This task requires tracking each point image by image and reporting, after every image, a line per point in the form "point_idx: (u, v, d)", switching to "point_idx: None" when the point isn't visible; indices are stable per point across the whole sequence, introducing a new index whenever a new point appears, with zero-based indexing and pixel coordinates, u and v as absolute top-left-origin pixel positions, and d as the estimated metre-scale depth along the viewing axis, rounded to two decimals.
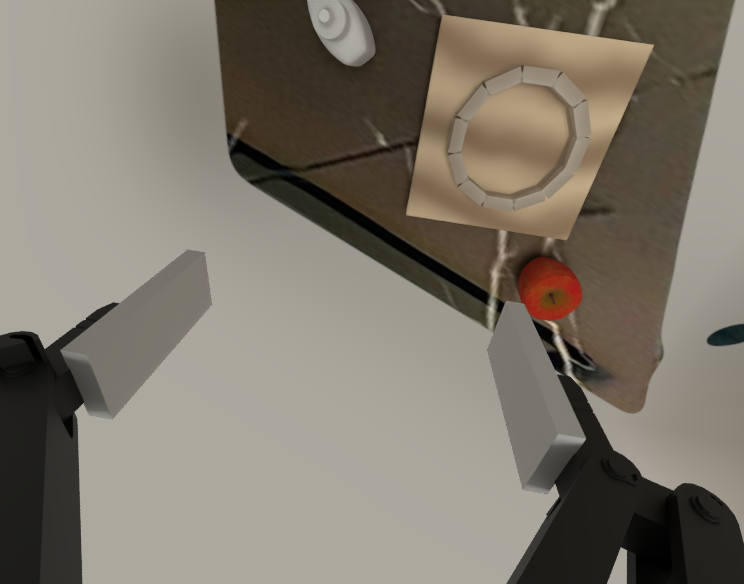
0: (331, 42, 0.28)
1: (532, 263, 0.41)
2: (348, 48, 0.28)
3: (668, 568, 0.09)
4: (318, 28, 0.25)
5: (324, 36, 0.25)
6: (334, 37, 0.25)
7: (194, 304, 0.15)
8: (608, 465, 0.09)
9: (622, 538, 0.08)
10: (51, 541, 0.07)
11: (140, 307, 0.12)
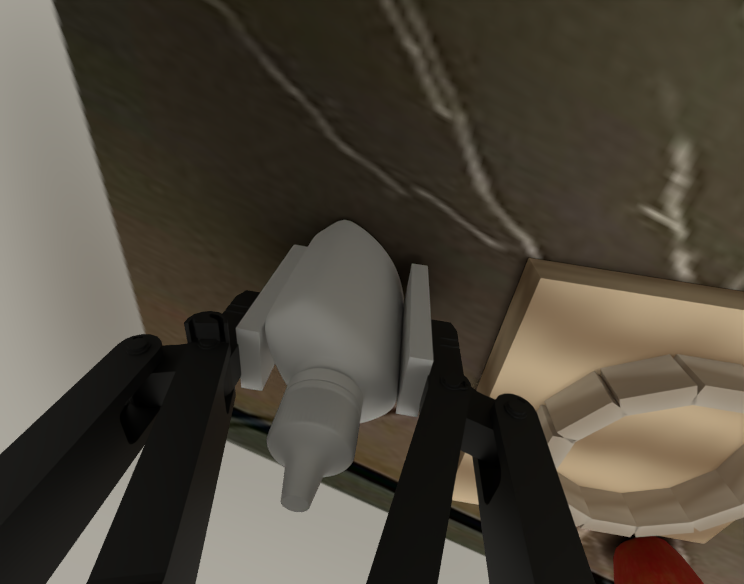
0: None
1: (645, 570, 0.26)
2: None
3: None
4: (285, 466, 0.10)
5: None
6: None
7: None
8: (444, 381, 0.11)
9: (462, 434, 0.10)
10: (189, 515, 0.07)
11: None
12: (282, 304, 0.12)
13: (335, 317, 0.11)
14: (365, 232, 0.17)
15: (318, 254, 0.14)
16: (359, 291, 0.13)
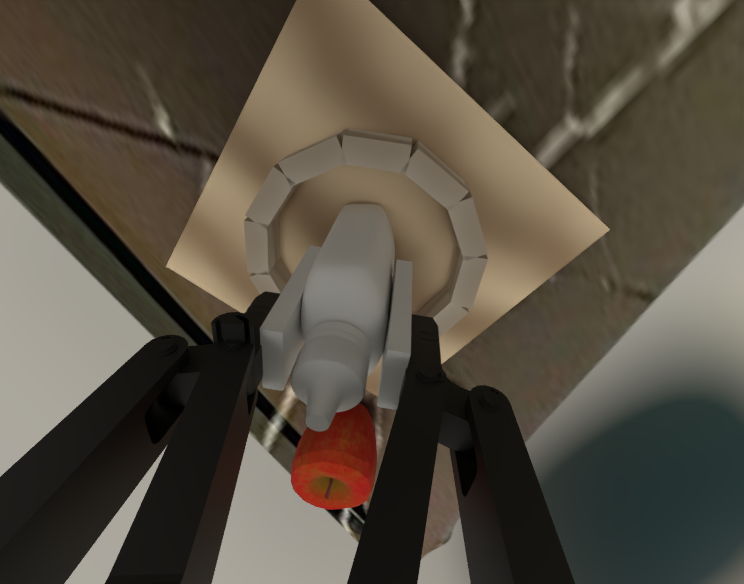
0: None
1: None
2: None
3: None
4: (298, 390, 0.12)
5: (303, 401, 0.12)
6: None
7: None
8: (421, 374, 0.11)
9: (439, 424, 0.10)
10: (208, 517, 0.07)
11: (300, 294, 0.14)
12: (337, 259, 0.13)
13: (377, 292, 0.13)
14: (390, 225, 0.19)
15: (364, 228, 0.16)
16: (387, 276, 0.15)
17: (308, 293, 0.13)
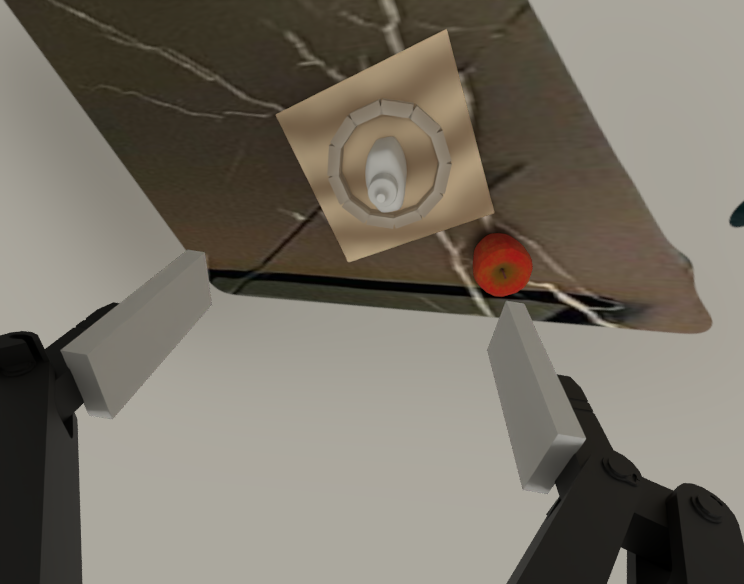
0: None
1: (475, 248, 0.41)
2: (387, 205, 0.33)
3: (668, 568, 0.09)
4: (371, 196, 0.30)
5: (373, 203, 0.30)
6: (381, 206, 0.30)
7: (194, 304, 0.15)
8: (608, 465, 0.09)
9: (621, 537, 0.08)
10: (51, 541, 0.07)
11: (140, 307, 0.12)
12: (377, 150, 0.31)
13: (396, 160, 0.31)
14: (400, 146, 0.37)
15: (387, 142, 0.34)
16: (401, 160, 0.33)
17: (368, 166, 0.31)
